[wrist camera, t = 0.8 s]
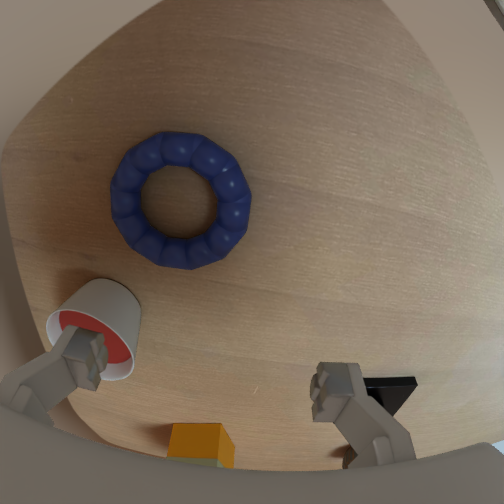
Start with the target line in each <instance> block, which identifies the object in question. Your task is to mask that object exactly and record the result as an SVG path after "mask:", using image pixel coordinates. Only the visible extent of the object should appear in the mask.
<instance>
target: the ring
mask: <svg viewBox="0 0 504 504" xmlns="http://www.w3.org/2000/svg"><path fill="white" fill-rule="evenodd" d="M167 165H168V166H180V167H189V168H191V169H192V170H194V171H195V172H197V173H198V174H200V175H201V176H203V177H204V178H205V179H207V180H208V181H209V183H210V185H211V187H212V189H213V191H214V193H215V195H216V197H217V200H218V202H217V213H216V219H215V221H214V222H213V223H212V225H211V226H210V227H209V228H208V230H207V231H206V232H205V233H203V234H201V235H198V236H196V237H193V238H191V239H180V238H171V237H167V236H166V235H164V234H163V233H161V232H160V231H158V230H157V229H155V228H154V227H152V226H151V225H150V223H149V222H148V220H147V218H146V216H145V215H144V213H143V211H142V209H141V188H142V186H143V185H144V183H145V181H146V180H147V178H148V176H149V175H150V174H151V173H153V172H155V171H157V170H159V169H161V168H163V167H165V166H167ZM110 196H111V213H112V219H113V221H114V223H115V224H116V226H117V228H118V229H119V231H120V233H121V234H122V236H123V237H124V239H125V241H126V242H127V244H128V245H129V247H130V248H132V249H133V250H134V251H136V252H137V253H139V254H140V255H142V256H144V257H145V258H147V259H148V260H150V261H151V262H153V263H154V264H156V265H158V266H163V267H171V268H178V269H185V270H193V269H197V268H199V267H202V266H205V265H208V264H211V263H214V262H216V261H219V260H222V259H223V258H225V257H226V256H227V255H228V253H229V252H230V251H231V250H232V249H233V247H234V246H235V245H236V244H237V243H238V242H239V240H240V239H241V238H242V237H243V236H244V234H245V233H246V231H247V227H248V220H249V213H250V205H251V197H252V196H251V191H250V188H249V186H248V184H247V182H246V180H245V177H244V175H243V173H242V171H241V168H240V166H239V164H238V162H237V160H236V159H235V157H234V156H232V155H231V154H230V153H228V152H227V151H225V150H224V149H223V148H221V147H220V146H218V145H217V144H215V143H214V142H213V141H211V140H210V139H208V138H207V137H205V136H203V135H201V134H193V133H178V132H161V133H158V134H156V135H154V136H152V137H150V138H148V139H147V140H145V141H143V142H141V143H139V144H137V145H136V146H134V147H132V148H131V149H129V150H128V151H127V152H126V154H125V155H124V157H123V159H122V161H121V163H120V165H119V166H118V168H117V170H116V172H115V174H114V176H113V178H112V180H111V183H110Z"/></svg>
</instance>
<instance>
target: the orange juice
mask: <svg viewBox="0 0 504 504" xmlns="http://www.w3.org/2000/svg"><path fill="white" fill-rule="evenodd" d="M234 451H235V446H234V444H233V443H232V441H231V439H230V438H229V436H228V434H227V433H226V431H225V429H224V428H223V426H222V424H221V423H214V424H184V423H174V424H173V428H172V433H171V438H170V443H169V448H168V453H167V457H166V459H167V460H173V461H178V462H184V463H191V464H198V465H205V466H213V467H222V468H232V469H233V466H234Z"/></svg>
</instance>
